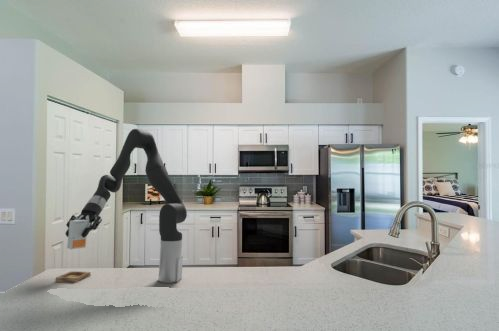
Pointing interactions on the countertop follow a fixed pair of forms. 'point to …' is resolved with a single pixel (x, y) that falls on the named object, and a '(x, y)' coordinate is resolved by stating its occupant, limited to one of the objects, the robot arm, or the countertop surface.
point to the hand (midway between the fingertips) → (75, 235)
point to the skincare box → (77, 234)
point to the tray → (73, 277)
